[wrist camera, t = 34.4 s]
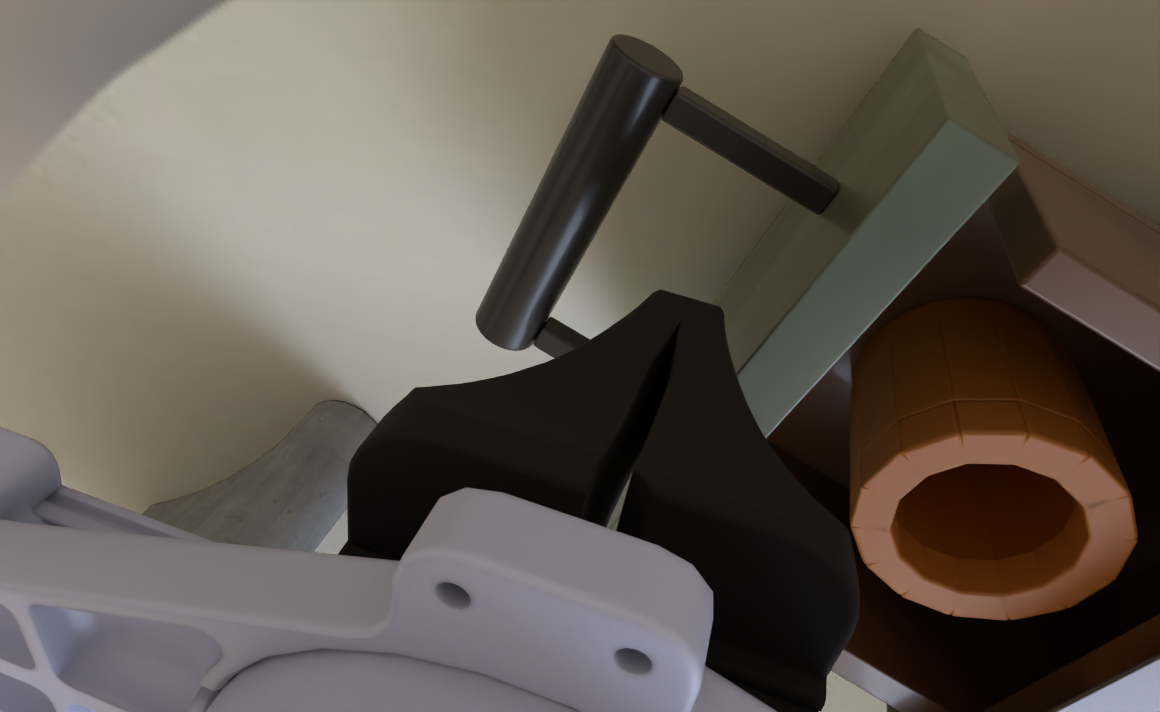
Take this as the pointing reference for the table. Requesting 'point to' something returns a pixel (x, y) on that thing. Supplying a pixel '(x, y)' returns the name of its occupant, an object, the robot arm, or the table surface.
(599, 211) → the drawer
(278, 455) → the hip flask
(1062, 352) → the jar
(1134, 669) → the cabinet
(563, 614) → the robot arm
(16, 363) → the table surface
